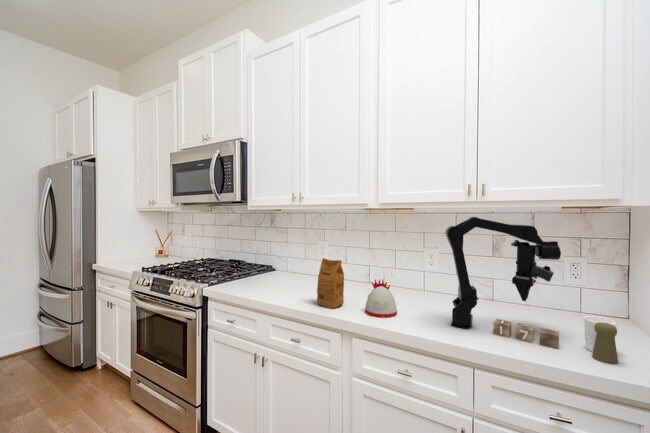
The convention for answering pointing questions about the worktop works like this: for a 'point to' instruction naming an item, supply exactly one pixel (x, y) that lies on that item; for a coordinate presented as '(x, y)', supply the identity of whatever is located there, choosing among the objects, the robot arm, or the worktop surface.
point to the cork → (605, 343)
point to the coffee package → (330, 284)
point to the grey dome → (381, 302)
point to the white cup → (590, 331)
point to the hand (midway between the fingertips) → (524, 299)
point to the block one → (502, 328)
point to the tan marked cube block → (524, 333)
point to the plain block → (549, 338)
